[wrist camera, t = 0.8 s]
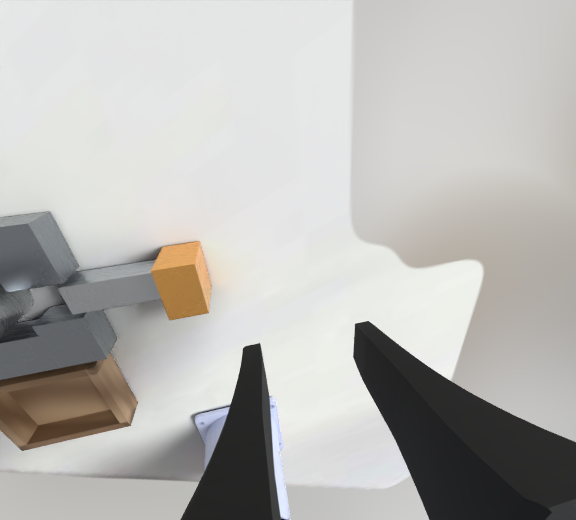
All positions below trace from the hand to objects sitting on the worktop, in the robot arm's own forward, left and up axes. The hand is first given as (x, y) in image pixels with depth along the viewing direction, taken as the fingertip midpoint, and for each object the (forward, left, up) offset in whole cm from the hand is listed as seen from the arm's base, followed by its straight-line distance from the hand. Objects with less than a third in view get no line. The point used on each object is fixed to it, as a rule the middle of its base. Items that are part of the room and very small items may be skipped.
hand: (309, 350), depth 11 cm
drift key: (0, +9, -9) cm, 13 cm away
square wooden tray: (-9, +18, -9) cm, 22 cm away
